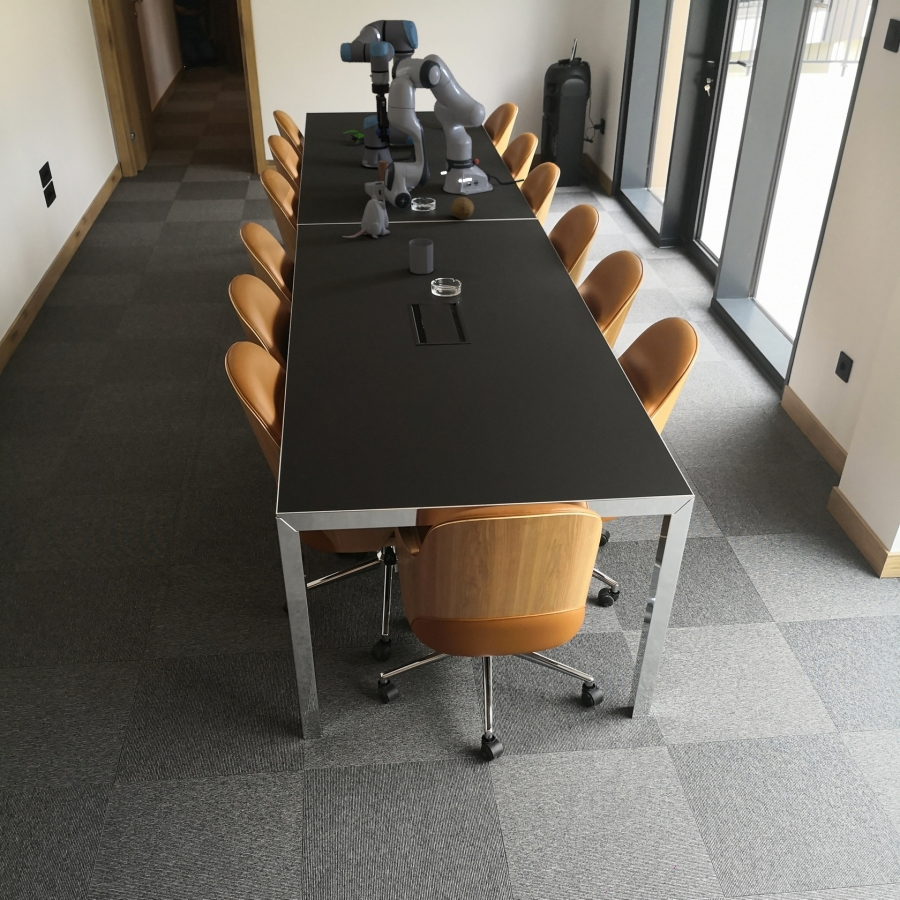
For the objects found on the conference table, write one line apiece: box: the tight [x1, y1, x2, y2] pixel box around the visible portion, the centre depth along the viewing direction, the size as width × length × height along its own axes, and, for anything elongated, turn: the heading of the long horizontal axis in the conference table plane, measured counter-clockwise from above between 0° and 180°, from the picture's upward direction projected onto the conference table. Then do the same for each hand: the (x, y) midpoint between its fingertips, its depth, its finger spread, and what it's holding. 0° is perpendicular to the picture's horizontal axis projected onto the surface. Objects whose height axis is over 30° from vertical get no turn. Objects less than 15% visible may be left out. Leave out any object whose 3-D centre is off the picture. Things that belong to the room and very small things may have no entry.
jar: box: [377, 160, 389, 182], centre depth 379 cm, size 5×5×15 cm
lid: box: [375, 129, 390, 136], centre depth 372 cm, size 6×6×2 cm
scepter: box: [341, 129, 365, 146], centre depth 464 cm, size 6×13×30 cm
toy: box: [341, 194, 391, 239], centre depth 332 cm, size 9×24×15 cm, turn 137°
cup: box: [408, 237, 434, 275], centre depth 305 cm, size 8×8×10 cm
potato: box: [450, 196, 475, 220], centre depth 355 cm, size 10×14×8 cm
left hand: (382, 139), depth 374 cm, fingers closed on lid, 6 cm apart
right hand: (383, 181), depth 380 cm, fingers closed on jar, 5 cm apart
